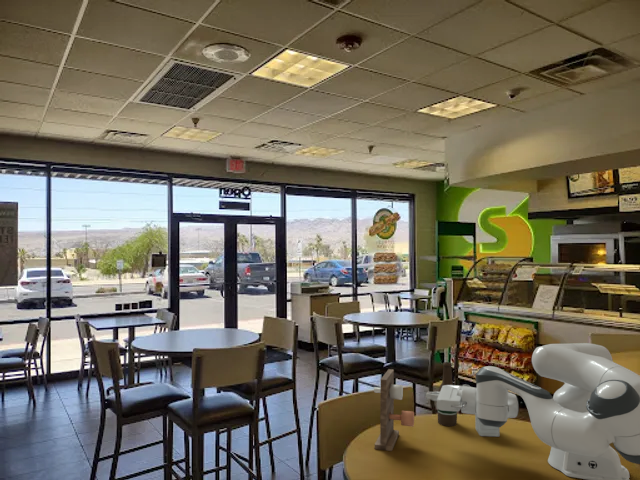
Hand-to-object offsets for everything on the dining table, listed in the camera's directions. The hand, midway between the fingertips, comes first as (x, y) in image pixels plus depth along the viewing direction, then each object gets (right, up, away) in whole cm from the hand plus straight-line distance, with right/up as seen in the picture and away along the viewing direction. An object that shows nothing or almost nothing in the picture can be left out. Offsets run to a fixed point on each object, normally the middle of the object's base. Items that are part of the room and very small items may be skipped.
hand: (426, 395), depth 169 cm
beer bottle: (+14, -19, +23) cm, 32 cm away
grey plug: (-13, -2, +4) cm, 14 cm away
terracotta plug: (-9, -11, +2) cm, 15 cm away
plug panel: (-13, -18, +3) cm, 22 cm away
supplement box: (+26, -19, +12) cm, 34 cm away
